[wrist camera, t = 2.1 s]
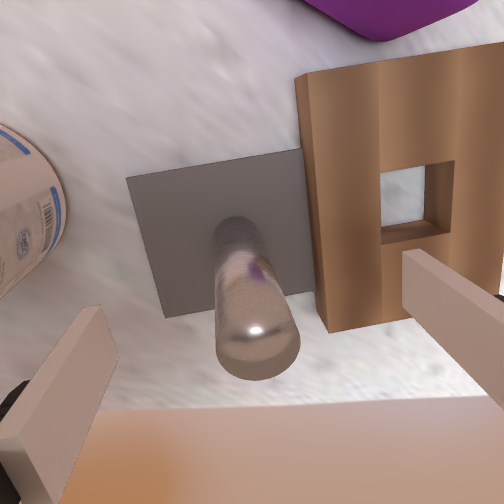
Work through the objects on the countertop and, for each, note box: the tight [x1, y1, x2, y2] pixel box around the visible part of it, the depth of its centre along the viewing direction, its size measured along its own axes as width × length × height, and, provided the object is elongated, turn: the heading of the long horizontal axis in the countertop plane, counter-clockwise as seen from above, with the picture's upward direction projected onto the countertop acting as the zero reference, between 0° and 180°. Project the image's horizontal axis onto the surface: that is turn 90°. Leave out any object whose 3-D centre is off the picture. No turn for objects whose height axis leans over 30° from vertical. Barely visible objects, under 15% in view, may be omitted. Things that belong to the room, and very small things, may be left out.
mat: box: [126, 148, 316, 318], centre depth 24 cm, size 12×10×1 cm
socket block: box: [295, 42, 504, 333], centre depth 23 cm, size 12×16×3 cm
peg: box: [214, 216, 300, 381], centre depth 18 cm, size 3×3×12 cm
